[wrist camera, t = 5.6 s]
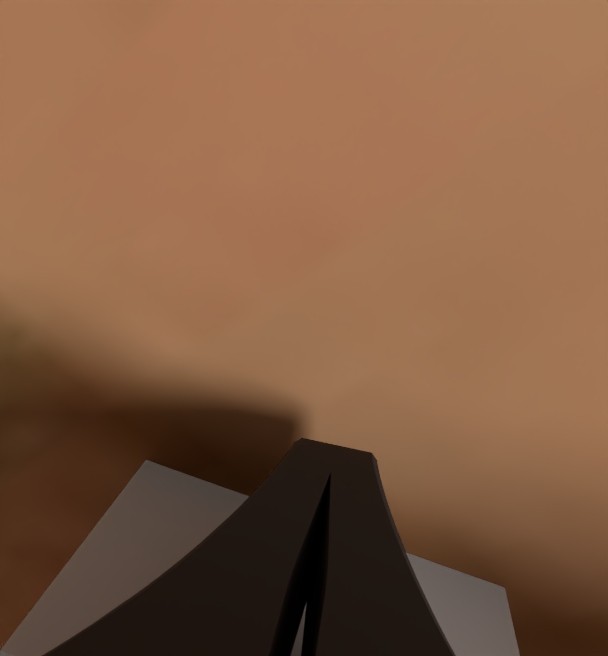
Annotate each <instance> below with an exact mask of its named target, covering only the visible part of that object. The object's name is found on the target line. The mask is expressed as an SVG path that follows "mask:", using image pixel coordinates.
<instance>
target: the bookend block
mask: <svg viewBox="0 0 608 656" xmlns="http://www.w3.org/2000/svg"><path fill="white" fill-rule="evenodd" d="M248 497H249V496H246V495H244V494H241V493H238V492H235V491H232V490H230V489H227V488H224V487H221V486H218V485H216V484H213V483H210V482H207V481H204V480H201V479H199V478H196V477H193V476H190V475H187V474H185V473H182V472H179V471H176V470H173V469H171V468H168V467H165V466H162V465H159V464H157V463H154V462H151V461H148V460H145V462H144V463H143V464H142V465H141V467H140V468H139V469H138V471H137V472H136V473H135V475H134V476H133V477H132V479H131V480H130V481H129V482H128V484H127V485H126V486H125V488H124V489H123V490H122V492H121V493H120V494H119V495H118V497H117V498H116V499H115V501H114V502H113V503H112V505H111V506H110V507H109V509H108V510H107V511H106V512H105V514H104V515H103V516H102V518H101V519H100V520H99V522H98V523H97V524H96V526H95V527H94V528H93V529H92V531H91V532H90V533H89V535H88V536H87V537H86V539H85V540H84V541H83V543H82V544H81V545H80V546H79V548H78V549H77V550H76V552H75V553H74V554H73V556H72V557H71V558H70V559H69V561H68V562H67V563H66V565H65V566H64V567H63V569H62V570H61V571H60V573H59V574H58V575H57V576H56V578H55V579H54V580H53V582H52V583H51V584H50V586H49V587H48V588H47V590H46V591H45V592H44V593H43V595H42V596H41V597H40V599H39V600H38V601H37V603H36V604H35V605H34V607H33V608H32V609H31V610H30V612H29V613H28V614H27V616H26V617H25V618H24V620H23V621H22V622H21V623H20V625H19V626H18V627H17V629H16V630H15V631H14V633H13V634H12V635H11V637H10V638H9V639H8V640H7V642H6V643H5V644H4V646H3V647H2V648H1V650H0V656H42V655H43V654H45V653H47V652H49V651H50V650H52V649H54V648H55V647H57V646H59V645H60V644H62V643H63V642H65V641H67V640H68V639H70V638H71V637H73V636H74V635H76V634H78V633H79V632H81V631H82V630H84V629H85V628H87V627H88V626H90V625H91V624H93V623H94V622H96V621H97V620H99V619H100V618H102V617H103V616H104V615H106V614H107V613H109V612H110V611H112V610H113V609H115V608H116V607H117V606H119V605H120V604H122V603H123V602H125V601H126V600H128V599H129V598H131V597H132V596H133V595H135V594H136V593H138V592H139V591H140V590H142V589H143V588H144V587H146V586H147V585H148V584H150V583H151V582H152V581H154V580H155V579H156V578H158V577H159V576H160V575H162V574H163V573H164V572H165V571H167V570H168V569H169V568H171V567H172V566H173V565H174V564H176V563H177V562H178V561H179V560H181V559H182V558H183V557H184V556H185V555H187V554H188V553H189V552H190V551H191V550H193V549H194V548H195V547H196V546H197V545H198V544H200V543H201V542H202V541H203V540H204V539H205V538H206V537H207V536H208V535H209V534H211V533H212V532H213V531H214V530H215V529H216V528H217V527H218V526H219V525H220V524H222V523H223V522H224V521H225V520H226V519H227V518H228V517H229V516H230V515H231V514H232V513H233V512H235V511H236V510H237V509H238V508H239V507H240V506H241V504H242V503H243V502H244V501H245V500H246V499H247V498H248ZM406 554H407V556H408V559H409V561H410V563H411V566H412V568H413V570H414V573H415V575H416V577H417V579H418V582H419V584H420V586H421V588H422V590H423V592H424V594H425V596H426V599H427V601H428V603H429V605H430V607H431V609H432V611H433V613H434V615H435V617H436V619H437V621H438V623H439V625H440V627H441V629H442V631H443V633H444V635H445V637H446V639H447V641H448V642H449V644H450V646H451V648H452V650H453V652H454V653H455V655H456V656H520V654H519V649H518V645H517V640H516V636H515V631H514V627H513V622H512V618H511V613H510V609H509V604H508V600H507V595H506V591H505V587H502V586H499V585H496V584H493V583H490V582H488V581H485V580H482V579H479V578H476V577H474V576H471V575H468V574H465V573H462V572H460V571H457V570H454V569H451V568H448V567H446V566H443V565H440V564H437V563H434V562H432V561H429V560H426V559H423V558H420V557H418V556H415V555H412V554H409V553H406ZM306 603H307V602H306ZM305 612H306V605H305V609H304V612H303V615H302V619H301V622H300V626H299V629H298V632H297V636H296V639H295V643H294V646H293V649H292V653H291V656H301V651H302V641H303V632H304V622H305Z"/></svg>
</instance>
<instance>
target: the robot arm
mask: <svg viewBox="0 0 608 656" xmlns="http://www.w3.org/2000/svg"><path fill="white" fill-rule="evenodd" d="M306 602H307V603H306ZM305 605H306V612H305V622H304V632H303V641H302V651H301V656H456V655H455V653H454V652H453V650H452V648H451V646H450V644H449V642H448V641H447V639H446V637H445V635H444V633H443V631H442V629H441V627H440V625H439V623H438V621H437V619H436V617H435V615H434V613H433V611H432V609H431V607H430V605H429V603H428V601H427V599H426V596H425V594H424V592H423V590H422V588H421V586H420V584H419V582H418V579H417V577H416V575H415V573H414V570H413V568H412V566H411V563H410V561H409V559H408V556H407V554H406V551H405V549H404V546H403V544H402V541H401V539H400V536H399V533H398V531H397V528H396V526H395V523H394V520H393V518H392V515H391V512H390V509H389V506H388V503H387V499H386V496H385V493H384V490H383V486H382V483H381V479H380V475H379V470H378V465H377V460H376V458H375V457H374V455H373V454H372V453H370V452H365V451H360V450H356V449H351V448H346V447H342V446H337V445H332V444H328V443H323V442H318V441H314V440H309V439H304V438H301V439H299V440H298V441H296V442H294V444H293V446H292V447H291V449H290V450H289V451H288V453H287V454H286V455H285V457H284V458H283V459H282V461H281V462H280V463H279V464H278V465H277V467H276V468H275V469H274V470H273V471H272V472H271V474H270V475H269V476H268V477H267V478H266V479H265V480H264V482H263V483H262V484H261V485H260V486H259V487H258V488H257V489H256V490H255V491H254V492H253V493H252V494H251V495H250V496H249V497H248V498H247V499H246V500H245V501H244V502H243V503H242V504H241V506H240V507H239V508H238V509H237V510H236V511H235V512H233V513H232V514H231V515H230V516H229V517H228V518H227V519H226V520H225V521H224V522H223V523H222V524H220V525H219V526H218V527H217V528H216V529H215V530H214V531H213V532H212V533H211V534H209V535H208V536H207V537H206V538H205V539H204V540H203V541H202V542H201V543H200V544H198V545H197V546H196V547H195V548H194V549H193V550H191V551H190V552H189V553H188V554H187V555H185V556H184V557H183V558H182V559H181V560H179V561H178V562H177V563H176V564H174V565H173V566H172V567H171V568H169V569H168V570H167V571H165V572H164V573H163V574H162V575H160V576H159V577H158V578H156V579H155V580H154V581H152V582H151V583H150V584H148V585H147V586H146V587H144V588H143V589H142V590H140V591H139V592H138V593H136V594H135V595H133V596H132V597H131V598H129V599H128V600H126V601H125V602H123V603H122V604H120V605H119V606H117V607H116V608H115V609H113V610H112V611H110V612H109V613H107V614H106V615H104V616H103V617H102V618H100V619H99V620H97V621H96V622H94V623H93V624H91V625H90V626H88V627H87V628H85V629H84V630H82V631H81V632H79V633H78V634H76V635H74V636H73V637H71V638H70V639H68V640H67V641H65V642H63V643H62V644H60V645H59V646H57V647H55V648H54V649H52V650H50V651H49V652H47V653H45V654H43V655H42V656H291V653H292V649H293V646H294V643H295V639H296V636H297V632H298V629H299V626H300V622H301V619H302V615H303V612H304V609H305Z"/></svg>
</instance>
